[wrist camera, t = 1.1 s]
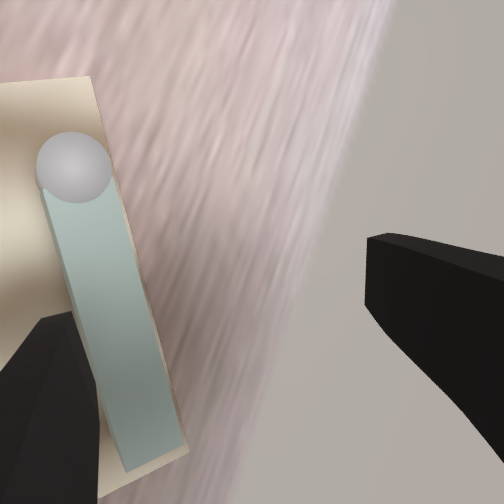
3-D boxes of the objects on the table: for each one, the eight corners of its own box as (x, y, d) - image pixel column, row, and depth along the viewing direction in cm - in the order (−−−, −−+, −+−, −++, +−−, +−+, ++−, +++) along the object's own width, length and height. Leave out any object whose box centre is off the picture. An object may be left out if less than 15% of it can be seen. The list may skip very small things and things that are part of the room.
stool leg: (26, 153, 17) (27, 137, 14) (89, 143, 18) (101, 127, 15) (112, 439, 19) (128, 477, 16) (163, 415, 20) (186, 447, 17)
